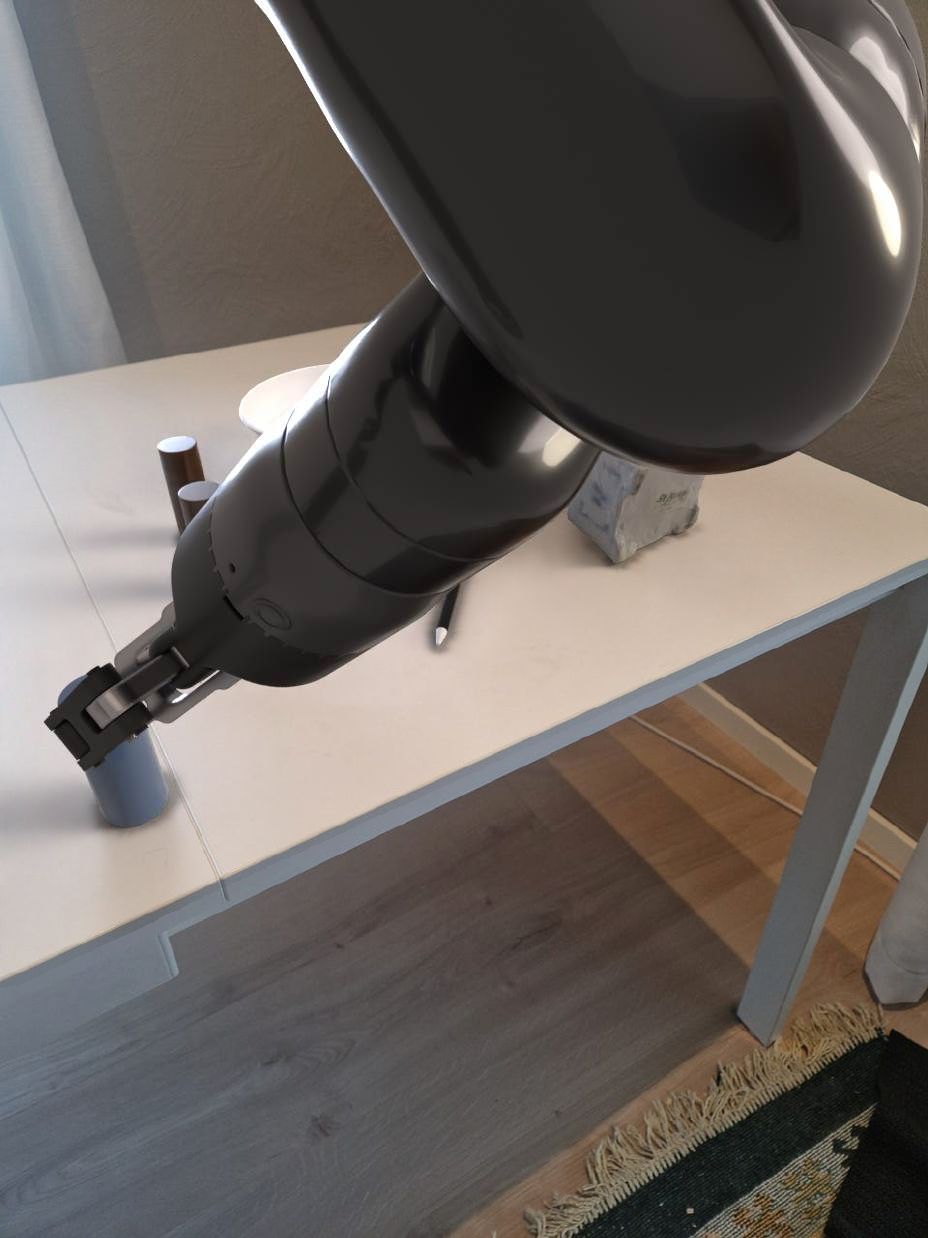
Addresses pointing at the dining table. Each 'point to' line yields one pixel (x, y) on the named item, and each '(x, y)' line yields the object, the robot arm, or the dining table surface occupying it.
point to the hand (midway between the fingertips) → (171, 678)
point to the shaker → (127, 779)
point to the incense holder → (633, 505)
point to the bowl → (277, 397)
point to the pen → (446, 615)
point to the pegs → (185, 478)
